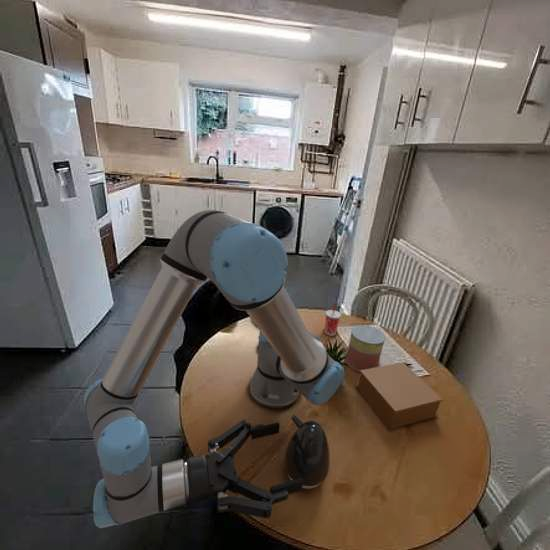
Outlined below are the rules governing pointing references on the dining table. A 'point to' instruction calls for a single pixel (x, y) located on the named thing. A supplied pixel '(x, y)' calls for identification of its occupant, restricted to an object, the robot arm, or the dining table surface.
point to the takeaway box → (398, 394)
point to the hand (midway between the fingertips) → (289, 453)
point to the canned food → (364, 347)
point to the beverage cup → (332, 321)
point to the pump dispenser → (307, 454)
